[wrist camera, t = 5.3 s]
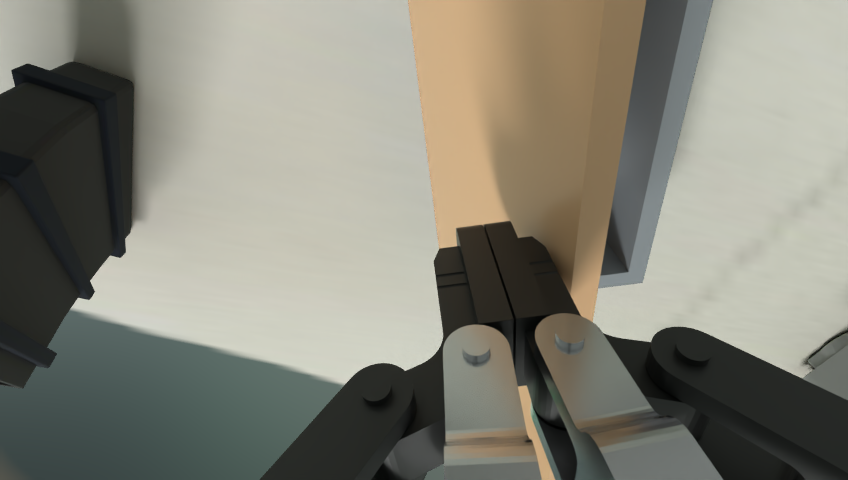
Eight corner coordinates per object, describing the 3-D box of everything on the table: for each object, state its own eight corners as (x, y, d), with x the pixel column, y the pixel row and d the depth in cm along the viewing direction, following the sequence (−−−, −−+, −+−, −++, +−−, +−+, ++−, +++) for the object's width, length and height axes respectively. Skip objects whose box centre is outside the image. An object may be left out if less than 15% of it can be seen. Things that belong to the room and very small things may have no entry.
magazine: (127, 26, 20) (-121, 336, 12) (166, 181, 30) (49, 395, 23) (34, -9, 19) (-301, 305, 11) (108, 164, 29) (-34, 382, 22)
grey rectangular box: (406, -172, 17) (410, -217, 12) (671, -214, 17) (782, -277, 12) (450, 246, 30) (460, 305, 25) (602, 227, 30) (642, 282, 25)
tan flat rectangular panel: (406, -216, 12) (381, -214, 12) (752, -628, 4) (679, -639, 4) (459, 305, 25) (447, 310, 25) (565, 485, 17) (547, 493, 16)
